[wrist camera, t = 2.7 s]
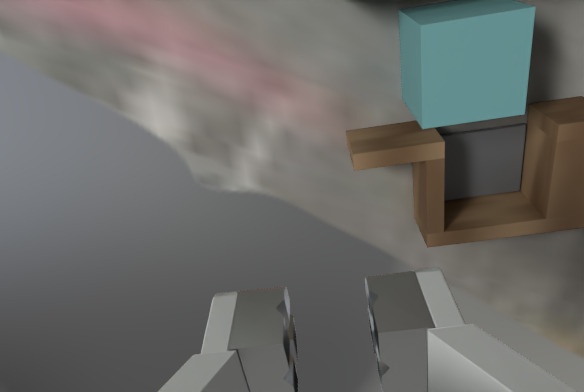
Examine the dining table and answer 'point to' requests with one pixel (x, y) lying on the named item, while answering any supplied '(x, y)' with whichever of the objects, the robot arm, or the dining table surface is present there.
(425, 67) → the block
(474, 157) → the pads
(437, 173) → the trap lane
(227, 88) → the dining table surface
